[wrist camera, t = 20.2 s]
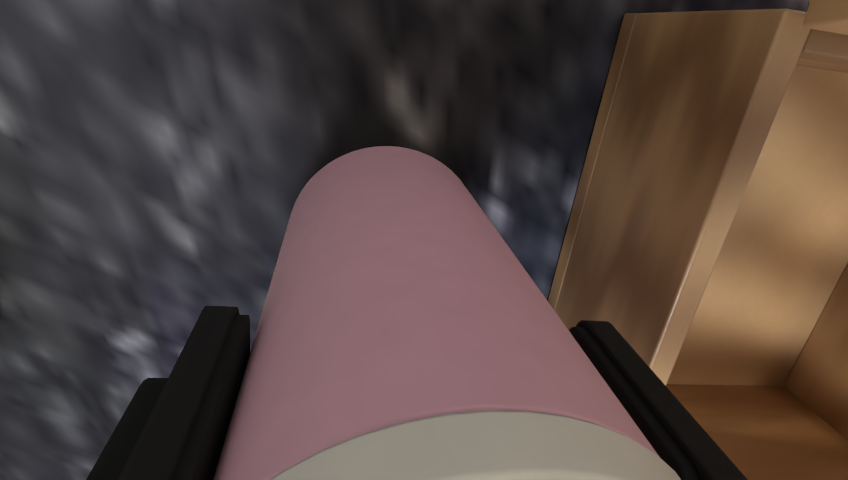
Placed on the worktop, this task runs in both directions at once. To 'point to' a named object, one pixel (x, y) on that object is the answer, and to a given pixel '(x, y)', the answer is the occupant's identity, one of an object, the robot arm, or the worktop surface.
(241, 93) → the worktop surface
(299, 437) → the tube
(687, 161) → the chest
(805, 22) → the lid
